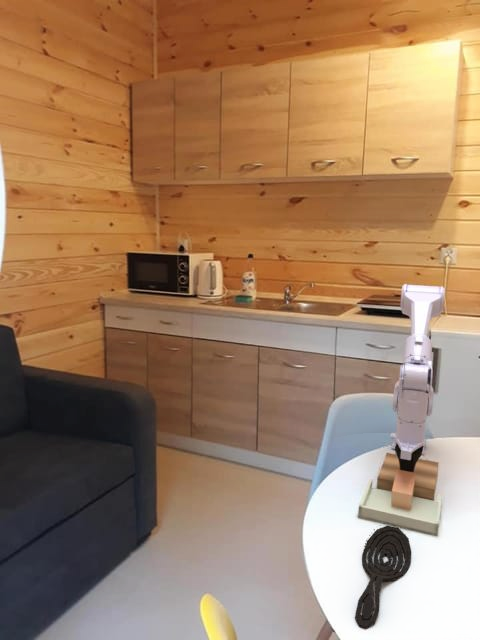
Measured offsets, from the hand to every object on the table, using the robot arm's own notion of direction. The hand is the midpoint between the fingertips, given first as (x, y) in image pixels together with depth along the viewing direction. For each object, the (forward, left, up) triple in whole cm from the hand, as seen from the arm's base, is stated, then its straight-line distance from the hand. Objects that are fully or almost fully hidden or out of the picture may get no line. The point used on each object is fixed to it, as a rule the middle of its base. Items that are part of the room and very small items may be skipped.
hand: (406, 476), depth 118 cm
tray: (+8, 0, -4) cm, 9 cm away
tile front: (+5, 0, -1) cm, 5 cm away
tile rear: (+2, 0, -2) cm, 3 cm away
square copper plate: (-6, 0, -4) cm, 7 cm away
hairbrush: (+31, -1, -5) cm, 31 cm away
